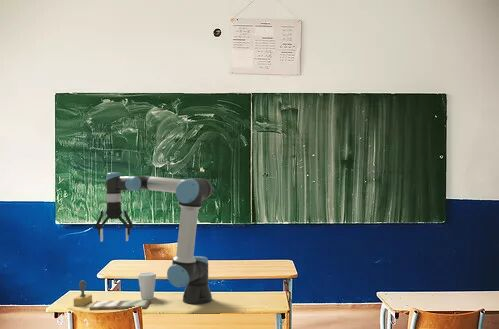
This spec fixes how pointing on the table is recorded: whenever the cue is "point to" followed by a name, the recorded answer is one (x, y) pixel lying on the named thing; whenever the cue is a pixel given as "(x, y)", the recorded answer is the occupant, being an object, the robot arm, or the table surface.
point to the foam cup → (147, 284)
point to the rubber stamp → (82, 296)
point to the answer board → (119, 304)
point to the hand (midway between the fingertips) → (114, 241)
